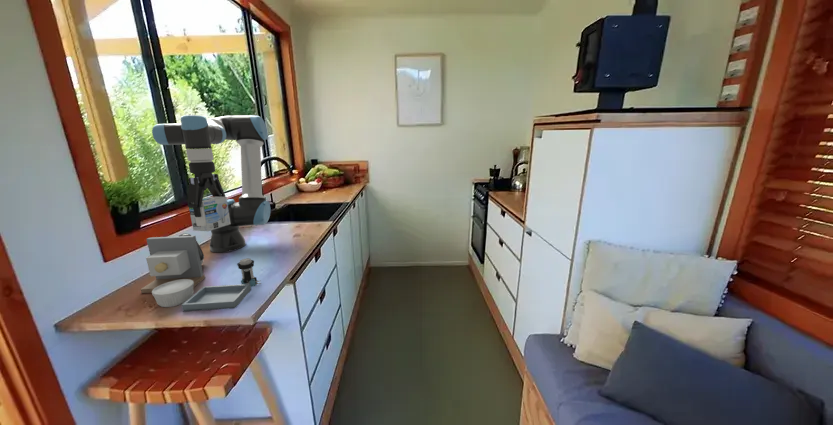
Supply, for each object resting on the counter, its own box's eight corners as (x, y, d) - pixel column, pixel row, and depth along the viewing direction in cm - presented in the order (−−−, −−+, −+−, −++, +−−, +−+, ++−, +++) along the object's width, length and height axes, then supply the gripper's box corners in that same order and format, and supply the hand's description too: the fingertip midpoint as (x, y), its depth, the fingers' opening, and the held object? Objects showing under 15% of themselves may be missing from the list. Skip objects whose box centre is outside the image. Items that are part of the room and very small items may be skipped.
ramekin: (170, 293, 110) (167, 279, 108) (203, 291, 110) (200, 277, 109) (146, 310, 99) (142, 295, 97) (183, 308, 99) (179, 293, 98)
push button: (263, 281, 117) (259, 256, 114) (258, 288, 111) (254, 262, 109) (244, 282, 116) (240, 257, 113) (238, 289, 111) (234, 263, 108)
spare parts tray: (205, 292, 109) (203, 286, 108) (251, 290, 110) (250, 283, 110) (183, 311, 97) (181, 304, 97) (235, 308, 99) (233, 301, 98)
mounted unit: (161, 280, 119) (151, 237, 115) (205, 277, 121) (196, 235, 116) (140, 293, 109) (128, 246, 105) (188, 290, 111) (178, 244, 106)
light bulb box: (208, 231, 109) (202, 201, 106) (192, 231, 110) (186, 201, 108) (231, 223, 119) (227, 196, 116) (216, 223, 120) (212, 195, 118)
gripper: (209, 159, 120) (218, 214, 125) (165, 164, 97) (179, 230, 102) (229, 159, 121) (238, 213, 126) (190, 163, 98) (202, 229, 102)
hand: (211, 221), depth 114 cm, fingers closed on light bulb box, 12 cm apart
